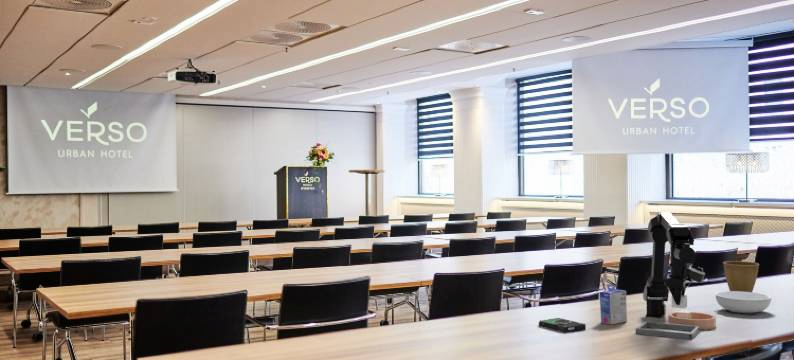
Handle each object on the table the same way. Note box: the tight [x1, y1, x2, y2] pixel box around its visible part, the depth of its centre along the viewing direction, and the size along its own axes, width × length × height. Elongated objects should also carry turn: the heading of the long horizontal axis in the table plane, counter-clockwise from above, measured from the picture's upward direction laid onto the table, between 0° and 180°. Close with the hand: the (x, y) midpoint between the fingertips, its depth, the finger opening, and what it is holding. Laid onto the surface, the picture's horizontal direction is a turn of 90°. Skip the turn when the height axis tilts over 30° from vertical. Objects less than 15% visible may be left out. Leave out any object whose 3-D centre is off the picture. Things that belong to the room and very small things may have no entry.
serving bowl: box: [715, 290, 772, 315], centre depth 300 cm, size 21×21×7 cm
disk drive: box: [538, 317, 587, 334], centre depth 272 cm, size 10×3×15 cm
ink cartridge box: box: [599, 283, 628, 325], centre depth 281 cm, size 10×6×14 cm, turn 124°
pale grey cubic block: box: [671, 294, 688, 309], centre depth 259 cm, size 4×4×4 cm
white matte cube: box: [676, 309, 692, 319], centre depth 276 cm, size 4×4×4 cm
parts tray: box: [635, 321, 701, 340], centre depth 261 cm, size 19×15×2 cm
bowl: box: [667, 311, 717, 330], centre depth 274 cm, size 16×16×4 cm
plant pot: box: [722, 260, 760, 292], centre depth 334 cm, size 15×15×16 cm
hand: (679, 304), depth 259 cm, fingers closed on pale grey cubic block, 4 cm apart
